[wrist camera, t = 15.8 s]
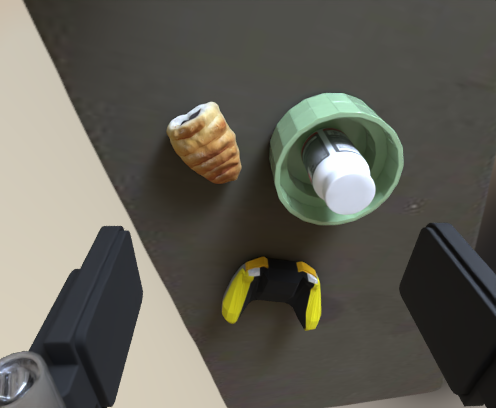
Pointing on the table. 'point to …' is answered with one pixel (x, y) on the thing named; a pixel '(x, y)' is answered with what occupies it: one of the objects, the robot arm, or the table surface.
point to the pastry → (206, 143)
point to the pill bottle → (337, 171)
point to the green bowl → (360, 134)
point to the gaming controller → (275, 289)
